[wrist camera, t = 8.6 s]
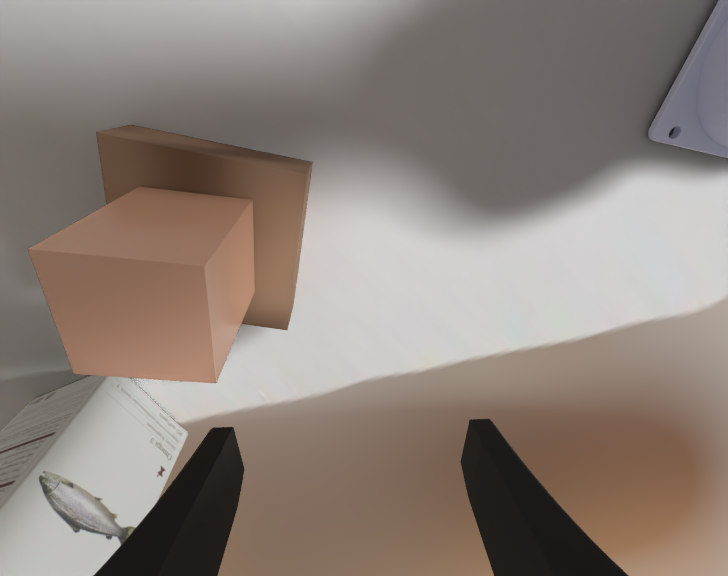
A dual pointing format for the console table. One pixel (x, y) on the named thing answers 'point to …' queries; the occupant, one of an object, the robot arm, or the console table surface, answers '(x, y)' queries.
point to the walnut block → (229, 179)
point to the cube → (151, 284)
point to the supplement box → (81, 475)
